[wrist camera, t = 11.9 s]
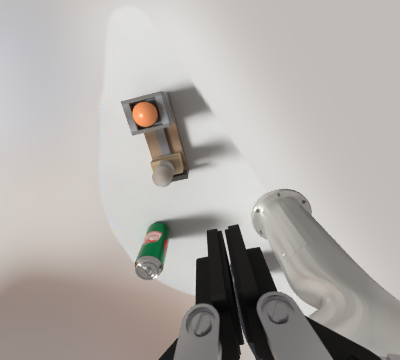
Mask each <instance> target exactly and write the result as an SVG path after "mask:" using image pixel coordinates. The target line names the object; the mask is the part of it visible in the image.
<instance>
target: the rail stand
mask: <svg viewBox="0 0 400 360" xmlns="http://www.w3.org/2000/svg"><path fill="white" fill-rule="evenodd" d="M141 102H151V103H153V104H155V105H156V106H157V108H158V110H159V119H158V120H157V122H156V123H154V124H152V125H151V126H148V127H143V126H140V125H138V124H137V123H136V122H135V120H134V118H133V109H134V107H135V106H136V105H137V104H138V103H141ZM121 104H122V107H123V109H124V112H125V115H126V118H127V121H128V124H129V127H130V130H131V133H132V135H136V134H141V133H144V135H145V138H146V141H147V144H148V147H149V150H150V153H151V156H152V159H154V158H158V157H162V156H166V155H171V154H175V153H179V152H180V155H181V159H182V163H183V166H184V169H183V173H179V174H174V175H173V178H172V181H171V182H173V181H178V180H183V179H187V178H188V172H189V169H188V166H187V162H186V158H185V154H184V151H183V147H182V143H181V139H180V135H179V132H178V128H177V124H176V120H175V117H174V113H173V109H172V105H171V101H170V98H169V94H168V92H157V93H153V94H149V95H145V96H141V97H137V98H133V99H129V100H125V101H121Z"/></svg>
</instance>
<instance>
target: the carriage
mask: <svg viewBox="0 0 400 360" xmlns="http://www.w3.org/2000/svg"><path fill="white" fill-rule="evenodd" d="M151 166H152V169H153V172H154V173H153V176H152V179H153V182H154V183H155V184H156V185H157V186H160V187H166V186H168V185H169V184H170V183H171V181H172V178H173V175H174V174H179V173H183V169H184V166H183V163H182V159H181V155H180V152H179V153H175V154H171V155H166V156H162V157H158V158H154V159H153V160H152V162H151Z"/></svg>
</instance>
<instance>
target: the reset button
mask: <svg viewBox="0 0 400 360" xmlns="http://www.w3.org/2000/svg"><path fill="white" fill-rule="evenodd" d="M133 118H134V120H135V122H136V123H137V124H138V125H140V126H143V127H148V126H151V125H152V124H154V123H156V122H157V120H158V119H159V110H158V108H157V106H156V105H155V104H153V103H151V102H141V103H138V104H137V105H136V106H135V107H134V109H133Z"/></svg>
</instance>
